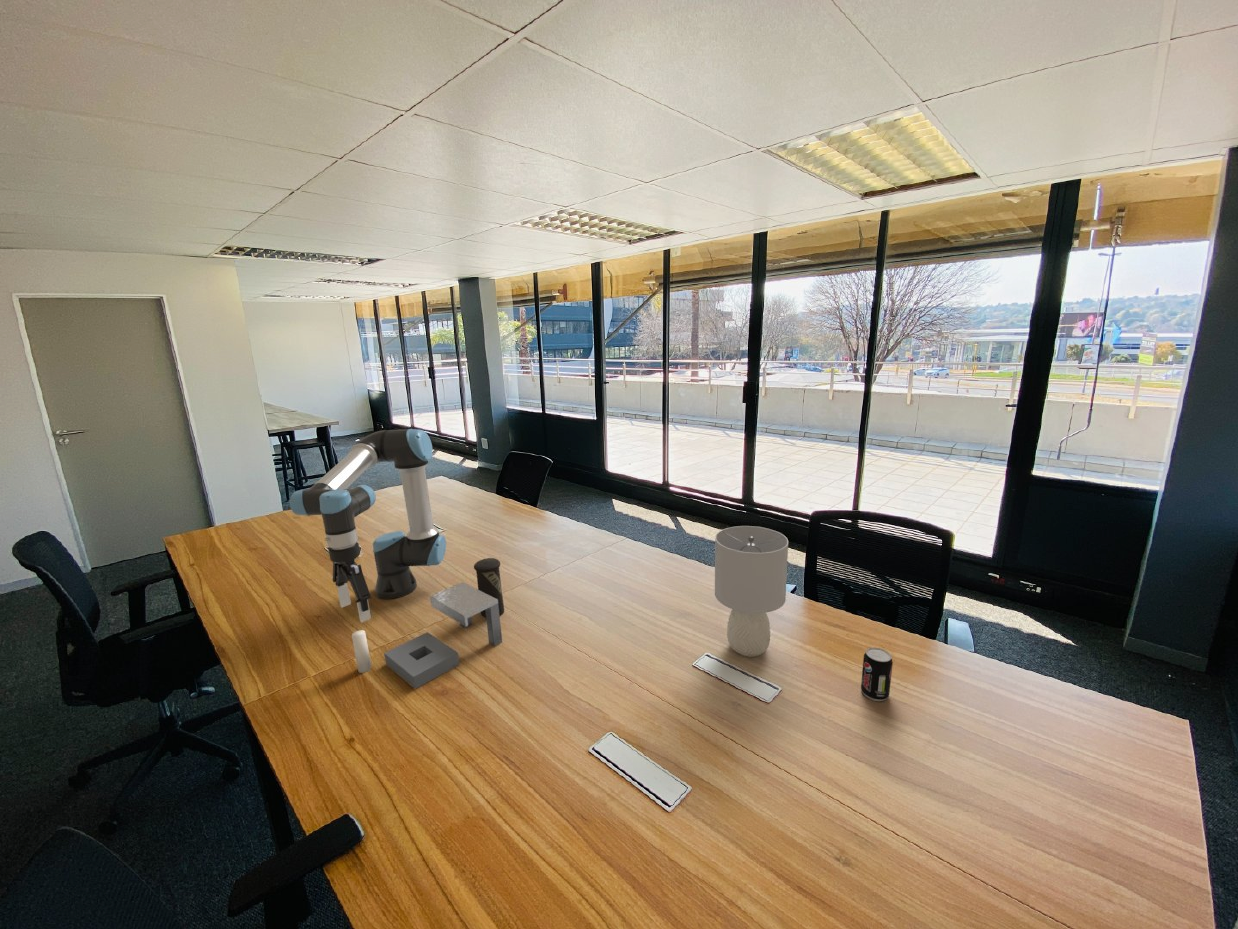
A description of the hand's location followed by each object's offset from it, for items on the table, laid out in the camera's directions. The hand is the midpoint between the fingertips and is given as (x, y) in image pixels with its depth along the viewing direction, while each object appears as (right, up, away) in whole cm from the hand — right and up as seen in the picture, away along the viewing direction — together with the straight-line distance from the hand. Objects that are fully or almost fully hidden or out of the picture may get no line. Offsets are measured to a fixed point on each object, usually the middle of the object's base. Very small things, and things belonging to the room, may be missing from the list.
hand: (355, 612), depth 144 cm
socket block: (+17, -17, +6) cm, 25 cm away
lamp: (+116, -13, +7) cm, 117 cm away
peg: (0, -18, +4) cm, 19 cm away
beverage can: (+144, -17, -14) cm, 146 cm away
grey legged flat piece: (+28, -14, +17) cm, 36 cm away
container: (+31, -10, +33) cm, 47 cm away
